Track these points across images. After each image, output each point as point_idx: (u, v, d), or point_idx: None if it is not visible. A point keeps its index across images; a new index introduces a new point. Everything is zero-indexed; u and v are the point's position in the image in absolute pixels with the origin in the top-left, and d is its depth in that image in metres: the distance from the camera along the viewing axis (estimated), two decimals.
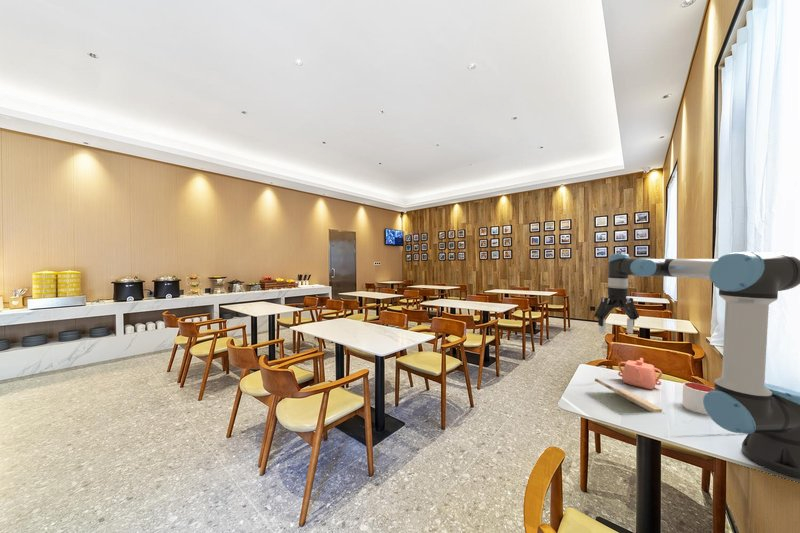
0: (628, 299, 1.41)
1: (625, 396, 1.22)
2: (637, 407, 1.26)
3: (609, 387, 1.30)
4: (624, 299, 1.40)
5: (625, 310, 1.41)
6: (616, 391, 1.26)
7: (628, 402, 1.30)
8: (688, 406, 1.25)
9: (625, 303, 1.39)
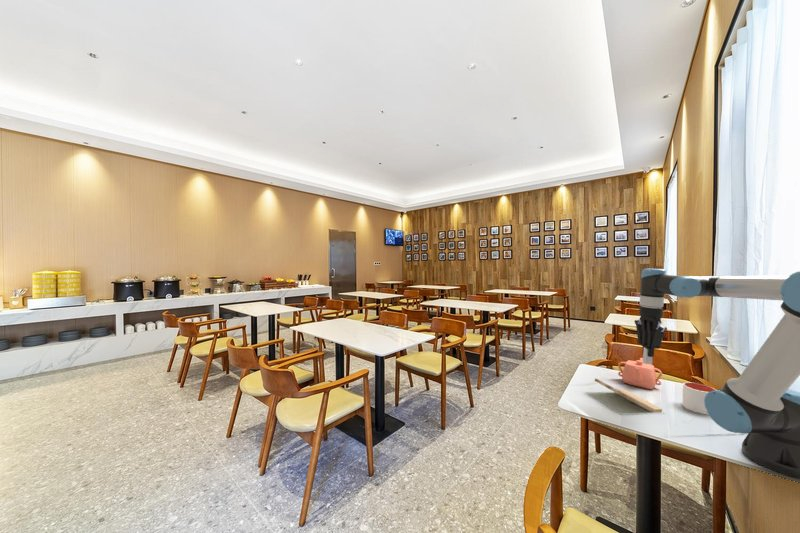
0: (659, 326, 1.19)
1: (625, 396, 1.22)
2: (637, 407, 1.26)
3: (609, 387, 1.30)
4: (654, 321, 1.21)
5: None
6: (616, 391, 1.26)
7: (628, 402, 1.30)
8: (688, 406, 1.25)
9: (649, 327, 1.22)
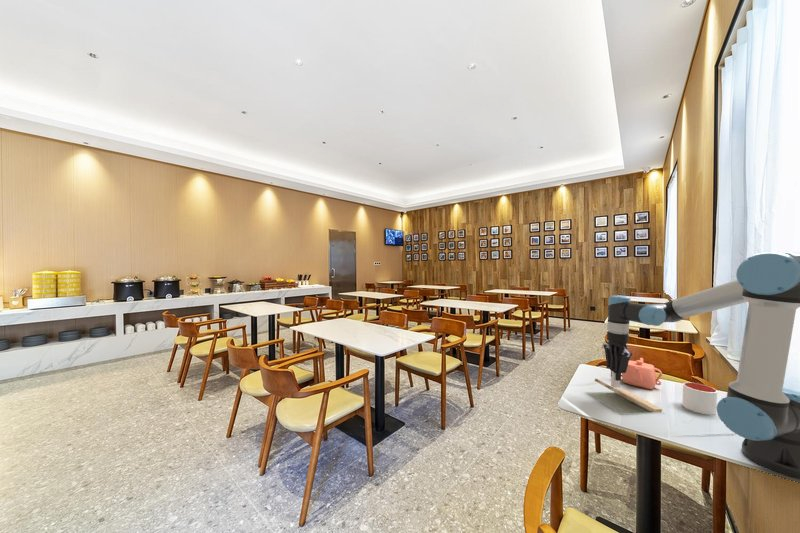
0: (625, 351, 1.24)
1: (625, 396, 1.22)
2: (637, 407, 1.26)
3: (609, 387, 1.30)
4: (620, 346, 1.26)
5: None
6: (616, 391, 1.26)
7: (628, 402, 1.30)
8: (688, 406, 1.25)
9: (616, 351, 1.27)
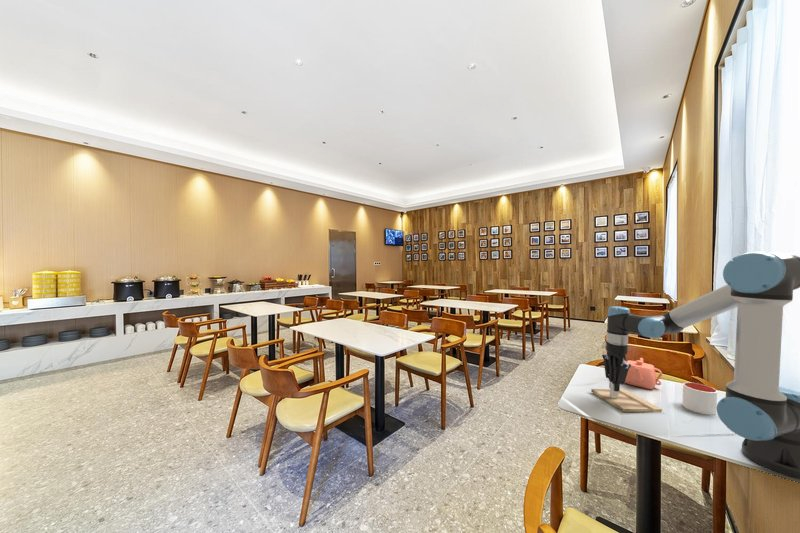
0: (624, 363, 1.25)
1: (621, 408, 1.22)
2: None
3: (605, 399, 1.30)
4: (619, 357, 1.27)
5: None
6: (612, 403, 1.26)
7: None
8: (688, 406, 1.25)
9: (615, 362, 1.28)
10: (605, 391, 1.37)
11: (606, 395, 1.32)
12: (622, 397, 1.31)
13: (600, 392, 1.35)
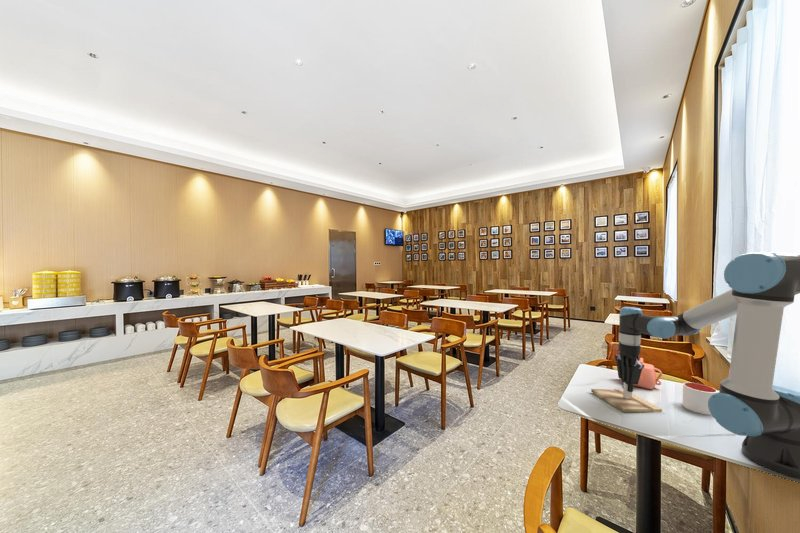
0: (637, 363, 1.25)
1: (621, 408, 1.22)
2: None
3: (605, 399, 1.30)
4: (632, 357, 1.27)
5: None
6: (612, 403, 1.26)
7: None
8: (688, 406, 1.25)
9: (628, 363, 1.28)
10: (605, 391, 1.37)
11: (606, 395, 1.32)
12: (622, 397, 1.31)
13: (600, 392, 1.35)
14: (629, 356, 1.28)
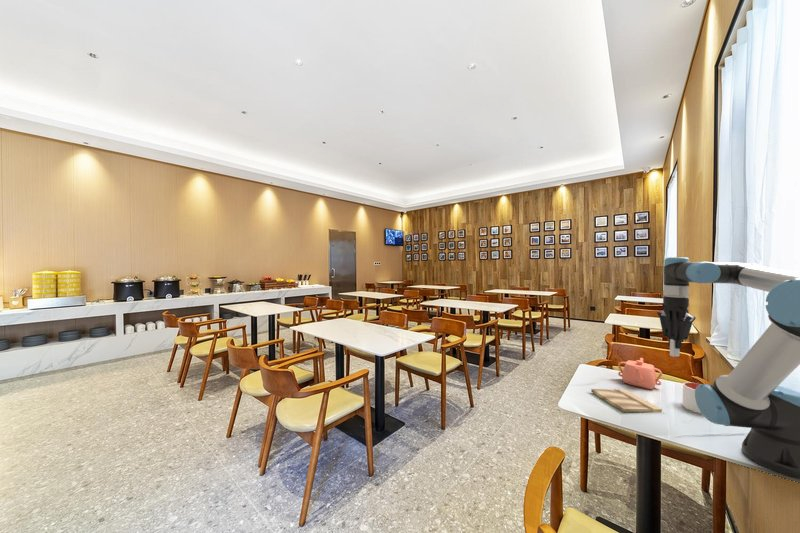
0: (687, 316, 1.15)
1: (621, 408, 1.22)
2: None
3: (605, 399, 1.30)
4: (680, 310, 1.17)
5: None
6: (612, 403, 1.26)
7: None
8: (688, 406, 1.25)
9: (676, 317, 1.18)
10: (605, 391, 1.37)
11: (606, 395, 1.32)
12: (622, 397, 1.31)
13: (600, 392, 1.35)
14: (677, 309, 1.18)
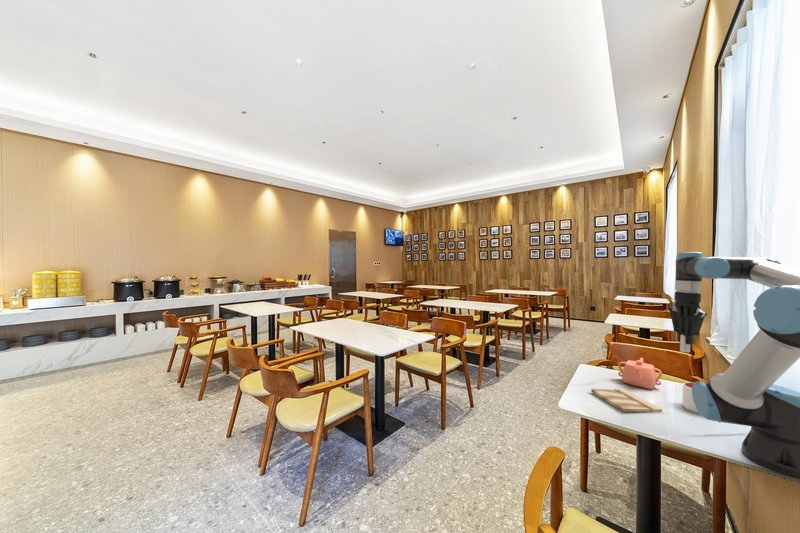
0: (699, 311, 1.13)
1: (621, 408, 1.22)
2: None
3: (605, 399, 1.30)
4: (692, 306, 1.15)
5: None
6: (612, 403, 1.26)
7: None
8: (688, 406, 1.25)
9: (687, 312, 1.16)
10: (605, 391, 1.37)
11: (606, 395, 1.32)
12: (622, 397, 1.31)
13: (600, 392, 1.35)
14: (688, 305, 1.17)
